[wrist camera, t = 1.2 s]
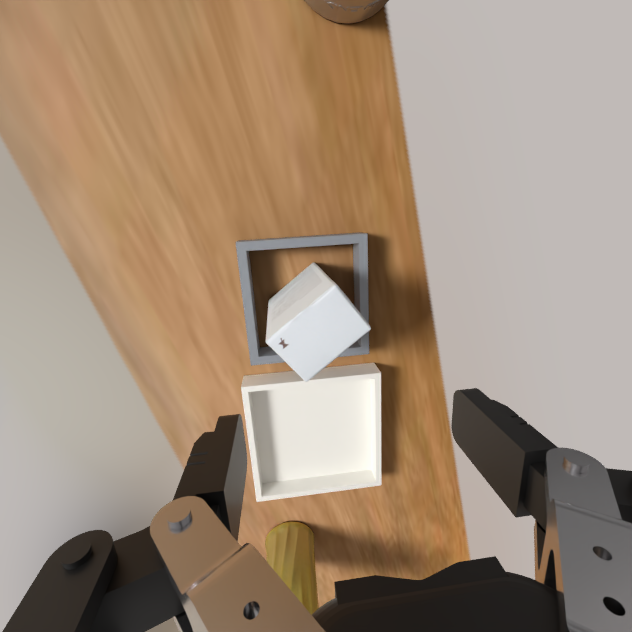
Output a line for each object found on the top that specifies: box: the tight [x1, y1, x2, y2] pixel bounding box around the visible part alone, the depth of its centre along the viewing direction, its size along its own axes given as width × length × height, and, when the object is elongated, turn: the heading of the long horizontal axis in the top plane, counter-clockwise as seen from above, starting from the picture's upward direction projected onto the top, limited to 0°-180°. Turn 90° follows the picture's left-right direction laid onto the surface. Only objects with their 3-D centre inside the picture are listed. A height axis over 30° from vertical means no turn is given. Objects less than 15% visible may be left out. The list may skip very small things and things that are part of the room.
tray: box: [241, 363, 381, 502], centre depth 36 cm, size 14×14×2 cm
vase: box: [265, 522, 319, 615], centre depth 35 cm, size 6×6×14 cm
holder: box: [236, 233, 369, 365], centre depth 32 cm, size 12×12×2 cm
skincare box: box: [266, 262, 371, 382], centre depth 27 cm, size 6×4×12 cm
